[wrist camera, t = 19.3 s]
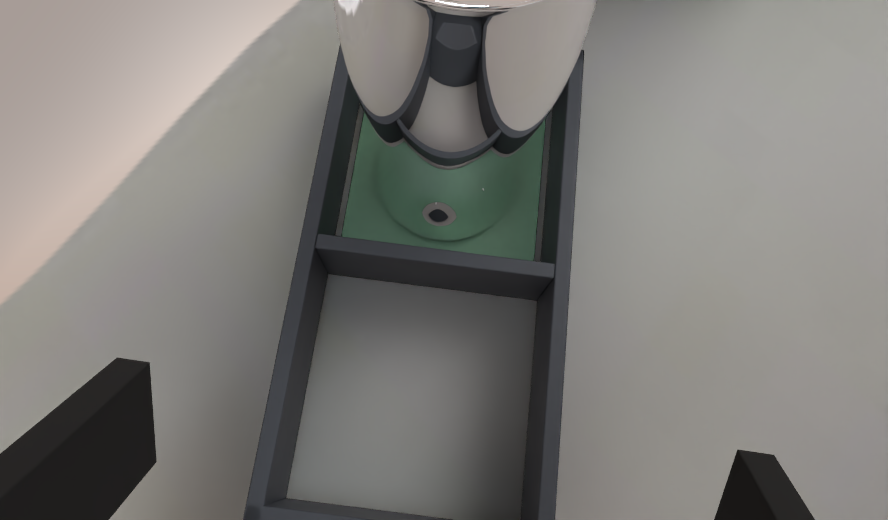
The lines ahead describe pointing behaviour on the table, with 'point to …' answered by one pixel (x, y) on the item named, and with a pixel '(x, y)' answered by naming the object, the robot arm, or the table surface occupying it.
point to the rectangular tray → (427, 264)
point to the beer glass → (456, 97)
